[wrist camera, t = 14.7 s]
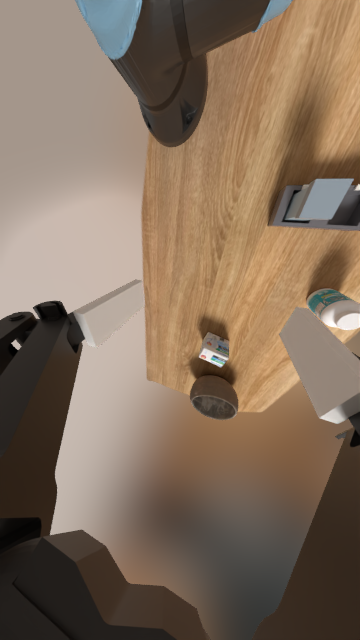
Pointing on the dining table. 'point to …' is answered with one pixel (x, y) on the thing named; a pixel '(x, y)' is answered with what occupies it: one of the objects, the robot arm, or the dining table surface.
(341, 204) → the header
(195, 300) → the dining table surface
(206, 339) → the light bulb box
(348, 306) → the pill bottle
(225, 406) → the bowl
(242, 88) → the dining table surface
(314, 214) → the plug
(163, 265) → the dining table surface
